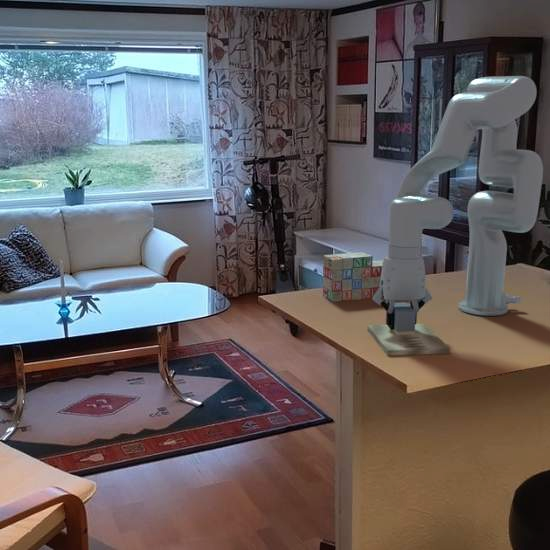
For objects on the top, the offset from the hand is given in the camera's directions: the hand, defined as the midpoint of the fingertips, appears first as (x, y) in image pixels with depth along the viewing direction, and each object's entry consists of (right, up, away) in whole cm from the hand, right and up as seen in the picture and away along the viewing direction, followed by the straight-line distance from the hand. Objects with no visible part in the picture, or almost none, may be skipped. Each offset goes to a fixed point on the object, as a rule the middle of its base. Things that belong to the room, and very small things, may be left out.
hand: (400, 326), depth 167 cm
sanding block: (0, -1, 0) cm, 1 cm away
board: (+1, -3, -4) cm, 5 cm away
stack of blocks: (-5, +6, +34) cm, 35 cm away
